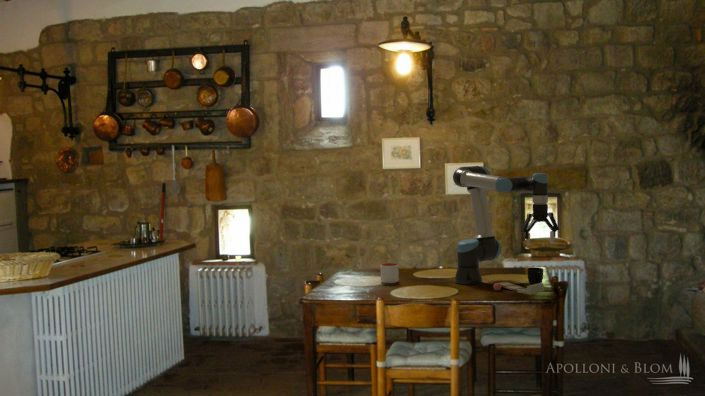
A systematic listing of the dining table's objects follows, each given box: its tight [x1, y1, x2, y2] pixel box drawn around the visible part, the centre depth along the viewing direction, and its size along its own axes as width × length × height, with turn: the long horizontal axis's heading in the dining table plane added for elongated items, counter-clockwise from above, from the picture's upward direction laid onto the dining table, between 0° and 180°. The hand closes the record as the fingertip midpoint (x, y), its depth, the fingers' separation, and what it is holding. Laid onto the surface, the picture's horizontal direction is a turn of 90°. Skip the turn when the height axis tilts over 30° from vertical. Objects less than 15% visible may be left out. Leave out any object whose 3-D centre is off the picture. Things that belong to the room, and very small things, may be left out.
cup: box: [379, 262, 399, 284], centre depth 381 cm, size 10×10×10 cm
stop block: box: [516, 282, 544, 295], centre depth 345 cm, size 8×11×4 cm
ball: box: [493, 282, 502, 292], centre depth 350 cm, size 4×4×4 cm
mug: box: [526, 266, 544, 286], centre depth 356 cm, size 8×12×10 cm
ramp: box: [498, 280, 527, 292], centre depth 354 cm, size 15×7×3 cm, turn 40°
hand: (540, 244), depth 346 cm, fingers open, 13 cm apart
